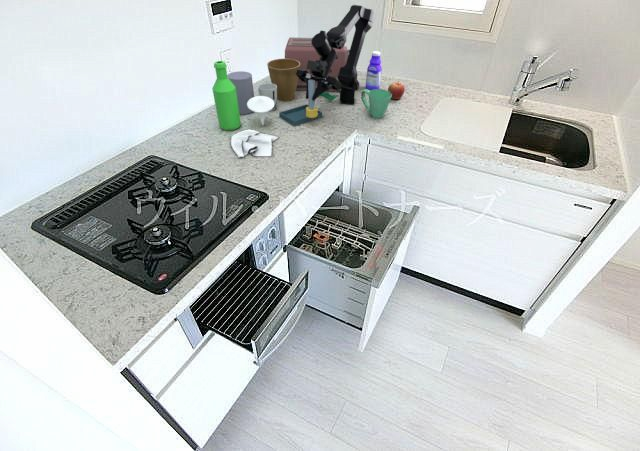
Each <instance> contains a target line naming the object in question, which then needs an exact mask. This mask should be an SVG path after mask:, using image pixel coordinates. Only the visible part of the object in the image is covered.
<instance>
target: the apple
mask: <svg viewBox="0 0 640 451" xmlns="http://www.w3.org/2000/svg"><path fill="white" fill-rule="evenodd" d="M387 91H389V92H390V95H391V94H392V96H391V99H394V100H398V99H400V98H402V97H403V96H404V94H405V91H406V87H405V85H404V84H403V83H401V82H400V81H395V82H394V81H393V82H392V83H390V84H389V86H388V87H387Z"/></svg>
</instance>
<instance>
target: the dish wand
mask: <svg viewBox="0 0 640 451" xmlns="http://www.w3.org/2000/svg"><path fill="white" fill-rule="evenodd" d="M314 92H315V80H308V99H307V100H308V102H307V104H308V105H309V106H308V107H306V116H307V117H309V118H314V117H317V115H318V110H319V108H318V107H317V106H316V99H315V100H314V101H313V100H312V97H313V95H314Z"/></svg>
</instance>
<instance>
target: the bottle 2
mask: <svg viewBox="0 0 640 451" xmlns="http://www.w3.org/2000/svg"><path fill="white" fill-rule="evenodd" d="M381 60H382V59H381V52H380V51H378V50H374V51H372V52H371V57H370V60H369V64H368V66H367V69H366V78H365V89H367V90H370V91H371V90H375V89H380V87H381V80H382V79H381V78H382V73H383V72H382V70H383V67H382V65H381V64H382V61H381Z"/></svg>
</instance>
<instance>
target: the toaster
mask: <svg viewBox="0 0 640 451" xmlns="http://www.w3.org/2000/svg"><path fill="white" fill-rule="evenodd" d="M312 38H313V37H293V36H292V37H288V39H287V42H286V45H285V48H284V59H294V60H297V61H299V62H300V69H303V70H306V71H307V72H308V73H309V74H311V75H312V73H311V72H310V70H309V69H306V67H307V62H308V60H310V61H316V60H319V58H320V55H319V54H318V53H317V52H316V50H315V48H314V47H313V45H312V43H311V41H312ZM333 49H334V50H335V51H337V55H338V59H335V60H334V62H333V65H332V67H331V70H332V72H331V73H330V72H329V74H328V76H332V77H337V78H338V74H339V71H340V68H341V67H344V66H345V65H346V62H347V58H348V55H349V51H350V48H349V49H348V46H347V45H344V46H343V48H342V49H336V48H333ZM328 76H327V77H328ZM317 84H318V82H317V81H315V86H317ZM306 89H307V84H306V83H305V82H302V81H301V80H300V79H299V78H298V84H297V88H296V92H297V91H298V92H306ZM340 90H342V88H340ZM340 90H339V91H336V90H333V89H332V85H330V86H329V90H327V91H326V92H334V93H335V92H338V93H340Z"/></svg>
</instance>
